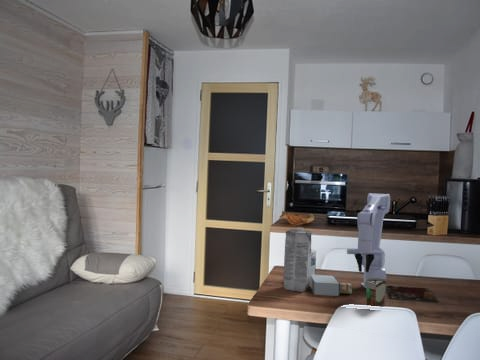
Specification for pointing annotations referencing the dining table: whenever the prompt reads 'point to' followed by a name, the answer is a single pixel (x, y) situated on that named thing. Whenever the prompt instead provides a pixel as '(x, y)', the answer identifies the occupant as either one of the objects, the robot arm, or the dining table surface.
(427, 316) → the dining table surface
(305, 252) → the juice carton
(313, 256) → the syrup box
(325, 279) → the block
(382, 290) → the food container
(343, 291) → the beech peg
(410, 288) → the dining table surface
